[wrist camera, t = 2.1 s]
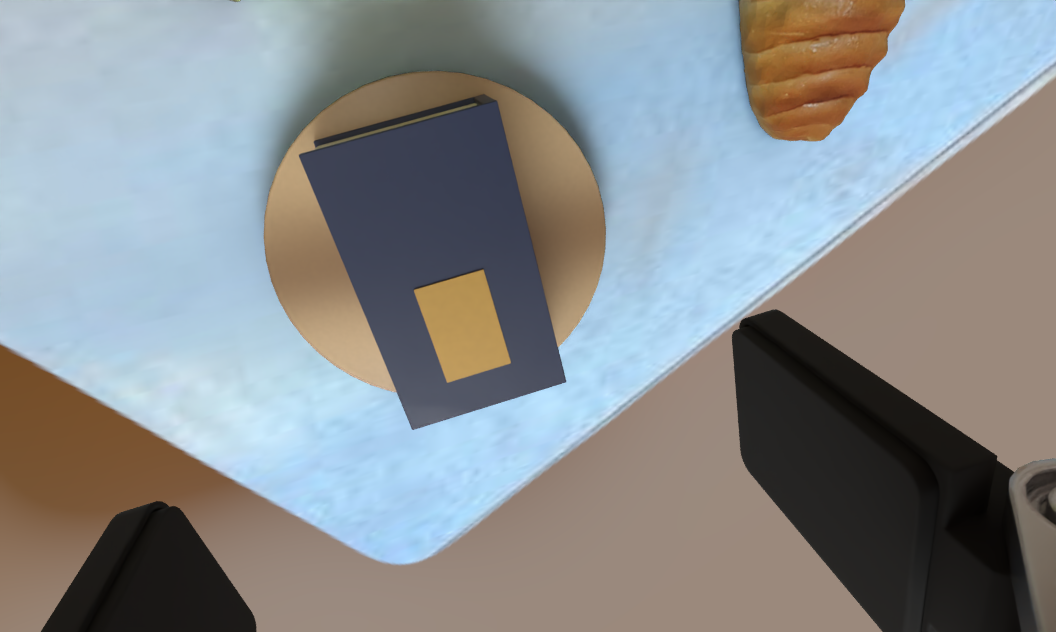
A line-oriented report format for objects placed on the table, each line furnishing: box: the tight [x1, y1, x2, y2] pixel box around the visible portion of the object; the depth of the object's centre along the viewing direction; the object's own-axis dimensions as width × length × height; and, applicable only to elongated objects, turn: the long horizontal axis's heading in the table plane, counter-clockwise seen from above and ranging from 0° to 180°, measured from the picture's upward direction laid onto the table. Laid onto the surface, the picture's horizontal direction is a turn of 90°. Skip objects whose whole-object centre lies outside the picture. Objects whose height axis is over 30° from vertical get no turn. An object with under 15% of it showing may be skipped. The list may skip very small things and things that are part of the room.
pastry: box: [739, 0, 905, 141], centre depth 24 cm, size 9×7×4 cm
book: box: [264, 71, 606, 430], centre depth 24 cm, size 15×15×4 cm
